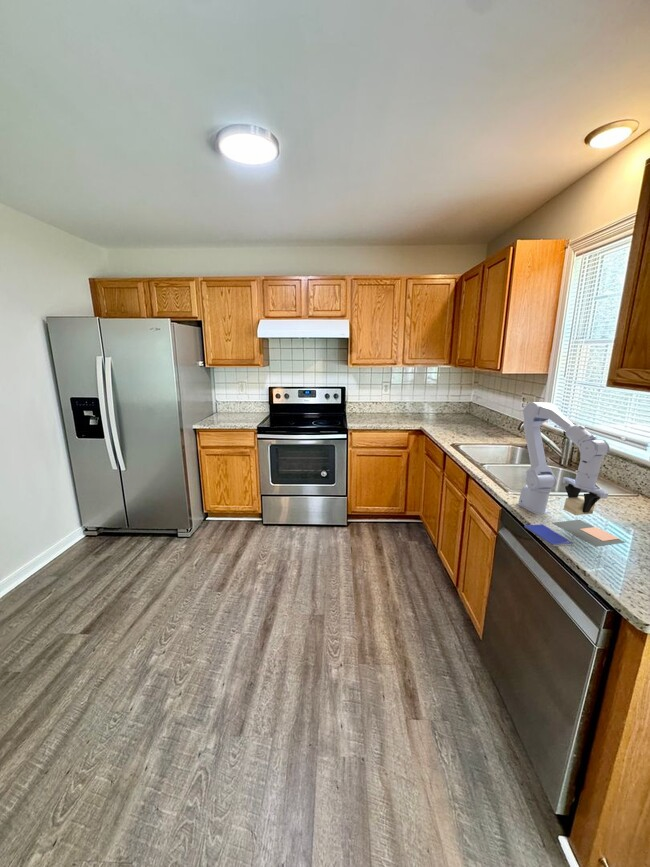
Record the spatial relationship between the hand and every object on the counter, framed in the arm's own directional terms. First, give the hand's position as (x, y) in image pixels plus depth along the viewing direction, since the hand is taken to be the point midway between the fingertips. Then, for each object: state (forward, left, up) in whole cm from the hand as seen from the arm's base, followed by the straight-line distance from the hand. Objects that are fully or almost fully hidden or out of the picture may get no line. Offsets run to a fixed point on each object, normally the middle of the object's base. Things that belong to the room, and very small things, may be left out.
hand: (578, 508), depth 118 cm
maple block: (0, 0, -1) cm, 1 cm away
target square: (+5, +6, -8) cm, 11 cm away
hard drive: (+2, -14, -9) cm, 17 cm away
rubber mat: (+3, +3, -8) cm, 9 cm away
